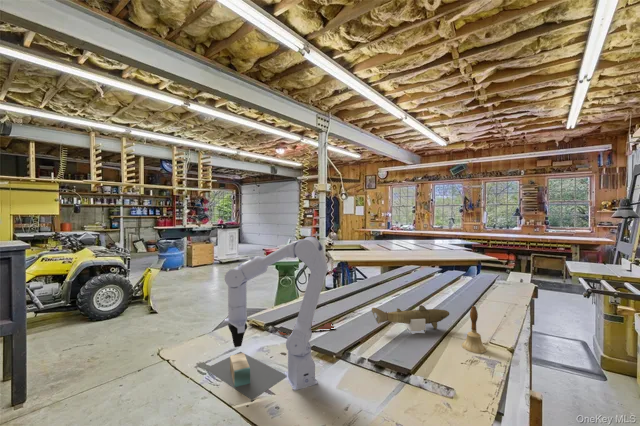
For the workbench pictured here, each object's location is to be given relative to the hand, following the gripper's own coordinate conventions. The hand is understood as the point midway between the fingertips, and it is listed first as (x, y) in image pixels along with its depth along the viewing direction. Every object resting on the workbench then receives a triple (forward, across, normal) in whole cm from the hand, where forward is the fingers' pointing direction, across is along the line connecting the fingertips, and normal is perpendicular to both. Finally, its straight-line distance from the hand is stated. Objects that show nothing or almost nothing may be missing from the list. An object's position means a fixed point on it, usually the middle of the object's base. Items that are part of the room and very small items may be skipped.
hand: (237, 346), depth 93 cm
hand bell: (+9, +22, +84) cm, 87 cm away
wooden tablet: (+9, -22, +32) cm, 40 cm away
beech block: (+6, -1, 0) cm, 6 cm away
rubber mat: (+8, +2, +2) cm, 9 cm away
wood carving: (+9, 0, +72) cm, 73 cm away
